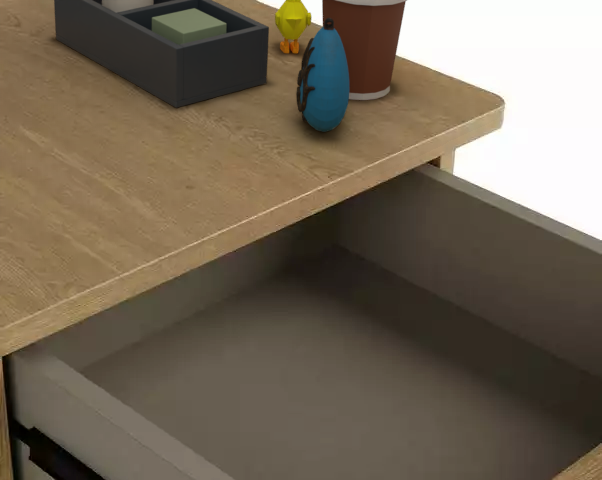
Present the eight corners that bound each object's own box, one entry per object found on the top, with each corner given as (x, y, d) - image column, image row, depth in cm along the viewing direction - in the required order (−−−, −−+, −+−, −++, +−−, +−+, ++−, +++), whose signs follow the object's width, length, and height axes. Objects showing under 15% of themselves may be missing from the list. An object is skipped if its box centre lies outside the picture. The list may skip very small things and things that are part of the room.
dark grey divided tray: (176, 108, 117) (176, 49, 114) (55, 39, 130) (53, -16, 127) (266, 83, 123) (269, 26, 120) (143, 20, 136) (142, -33, 133)
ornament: (293, 106, 119) (299, 0, 113) (343, 108, 119) (351, 3, 114) (295, 145, 112) (302, 34, 106) (349, 147, 112) (358, 36, 107)
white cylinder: (121, 50, 126) (120, -20, 122) (93, 35, 129) (91, -34, 125) (163, 40, 129) (163, -29, 125) (134, 26, 132) (133, -43, 128)
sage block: (182, 85, 120) (183, 33, 117) (151, 68, 123) (151, 17, 120) (225, 74, 123) (226, 23, 120) (193, 57, 126) (194, 7, 123)
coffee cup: (422, 86, 125) (436, -37, 118) (369, 114, 118) (380, -15, 112) (344, 61, 129) (354, -59, 123) (289, 86, 123) (296, -39, 116)
